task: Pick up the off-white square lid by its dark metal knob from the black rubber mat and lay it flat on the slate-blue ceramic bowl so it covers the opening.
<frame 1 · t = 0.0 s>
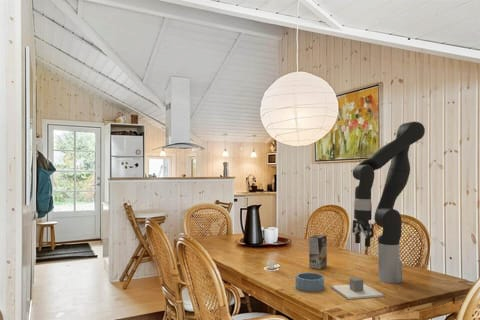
hand: (362, 244, 169), 17 cm above the table, tool pointing down, fingers open, 8 cm apart
coffee box: (318, 267, 199), on the table
lid: (356, 292, 155), resting on mat
bowl: (310, 287, 163), on the table
teacup and saucer: (276, 270, 194), on the table
mat: (356, 293, 155), on the table
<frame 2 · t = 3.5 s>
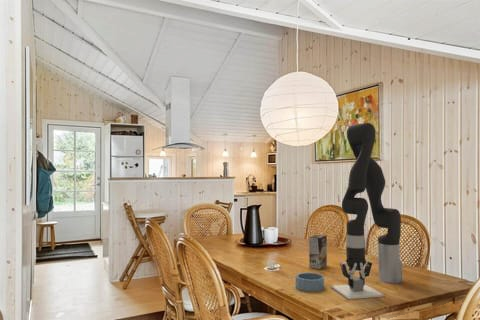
hand: (356, 287, 155), 3 cm above the table, tool pointing down, fingers closed on lid, 4 cm apart
lid: (356, 292, 155), resting on mat, touching gripper
everything else where it was.
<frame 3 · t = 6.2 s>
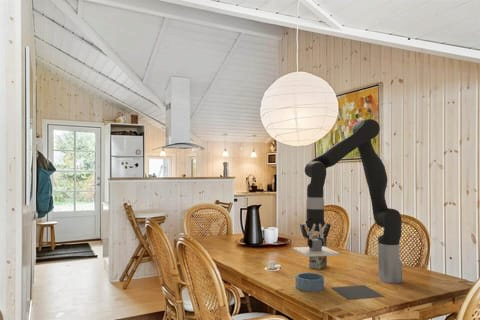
hand: (315, 247, 162), 18 cm above the table, tool pointing down, fingers closed on lid, 4 cm apart
lid: (315, 252, 162), point 16 cm above the table, touching gripper
everything else where it was.
when the fingers open (8 cm above the table, at t = 8.9 s): lid drops 1 cm, resting on bowl.
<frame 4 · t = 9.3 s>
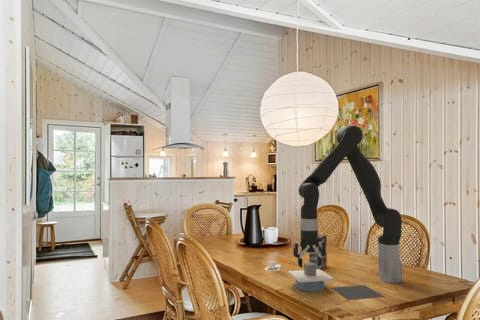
hand: (309, 266, 163), 9 cm above the table, tool pointing down, fingers open, 8 cm apart
lid: (310, 276, 163), point 5 cm above the table, touching bowl
everything else where it was.
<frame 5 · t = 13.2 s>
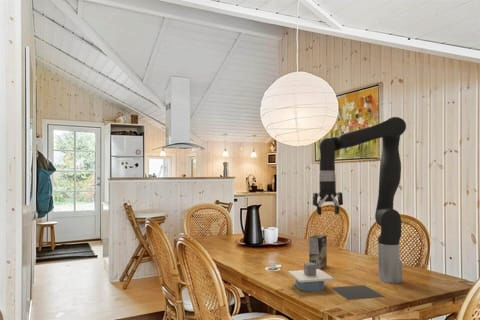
hand: (328, 214, 177), 30 cm above the table, tool pointing down, fingers open, 8 cm apart
nothing on the table moved.
at the end: lid 0.1 cm off-centre on the bowl, point 5.0 cm above the bowl's base; lid tilted 0°; lid touching bowl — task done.
